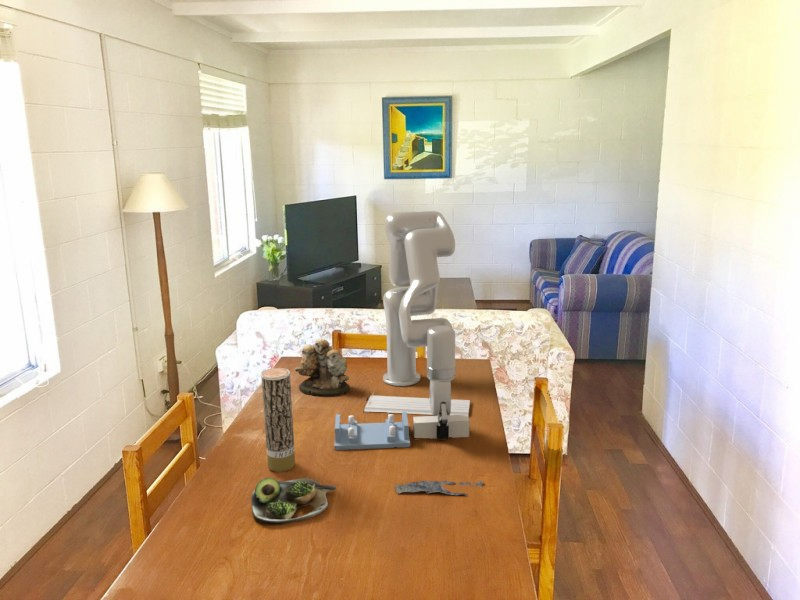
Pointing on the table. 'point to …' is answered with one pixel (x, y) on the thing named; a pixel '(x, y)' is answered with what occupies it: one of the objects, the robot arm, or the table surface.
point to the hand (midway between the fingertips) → (440, 432)
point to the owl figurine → (323, 370)
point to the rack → (371, 434)
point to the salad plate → (287, 499)
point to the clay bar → (428, 424)
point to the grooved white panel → (411, 405)
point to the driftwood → (431, 487)
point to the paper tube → (278, 419)
